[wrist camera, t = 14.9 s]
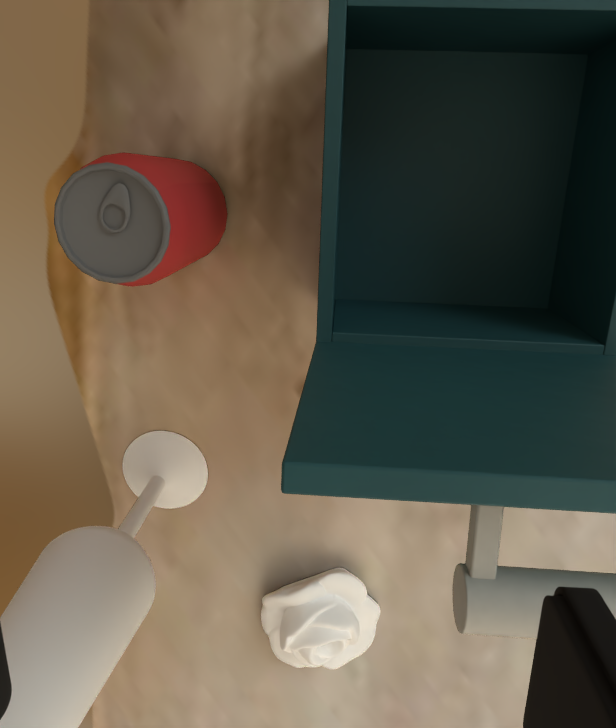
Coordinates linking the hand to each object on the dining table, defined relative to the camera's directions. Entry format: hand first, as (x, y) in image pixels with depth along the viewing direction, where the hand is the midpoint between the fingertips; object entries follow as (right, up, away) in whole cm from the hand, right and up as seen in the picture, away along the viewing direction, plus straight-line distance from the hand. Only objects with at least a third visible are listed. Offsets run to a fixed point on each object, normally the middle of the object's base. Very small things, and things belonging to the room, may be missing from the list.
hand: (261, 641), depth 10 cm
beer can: (-8, +15, +29) cm, 34 cm away
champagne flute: (-10, -3, +35) cm, 37 cm away
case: (+10, +16, +27) cm, 33 cm away
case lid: (+8, +4, +12) cm, 15 cm away
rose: (+2, -15, +38) cm, 41 cm away
